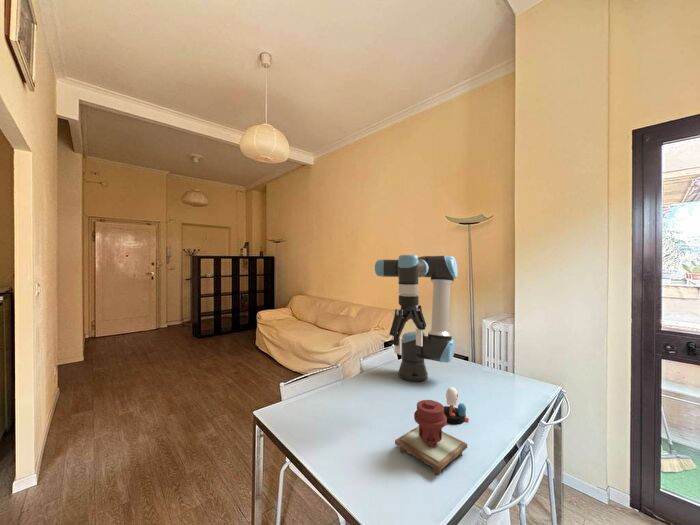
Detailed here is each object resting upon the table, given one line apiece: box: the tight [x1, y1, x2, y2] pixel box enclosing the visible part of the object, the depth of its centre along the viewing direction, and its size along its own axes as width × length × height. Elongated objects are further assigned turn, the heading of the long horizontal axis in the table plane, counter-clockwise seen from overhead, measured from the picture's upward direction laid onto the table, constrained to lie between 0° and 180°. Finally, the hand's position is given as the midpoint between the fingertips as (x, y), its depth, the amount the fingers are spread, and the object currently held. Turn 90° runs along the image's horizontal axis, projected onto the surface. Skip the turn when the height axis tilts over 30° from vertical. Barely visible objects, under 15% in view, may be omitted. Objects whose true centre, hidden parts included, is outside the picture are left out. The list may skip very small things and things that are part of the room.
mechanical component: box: [413, 399, 448, 447], centre depth 92 cm, size 12×10×10 cm
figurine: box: [443, 386, 470, 426], centre depth 112 cm, size 10×11×12 cm
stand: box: [394, 425, 468, 475], centre depth 92 cm, size 16×16×4 cm
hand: (409, 349), depth 111 cm, fingers open, 13 cm apart
